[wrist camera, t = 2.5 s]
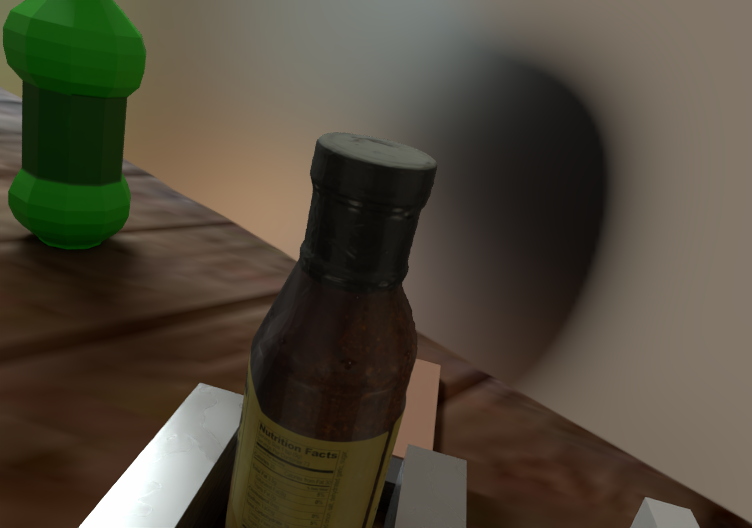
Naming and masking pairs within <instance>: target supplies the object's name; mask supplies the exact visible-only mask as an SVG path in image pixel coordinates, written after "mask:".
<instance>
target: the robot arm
mask: <svg viewBox="0 0 752 528" xmlns="http://www.w3.org/2000/svg"><path fill="white" fill-rule="evenodd" d="M630 528H699V526H698V524H697V522H696V520H695V518H694V516H693V514H692V512H691V510H689V509H686V508H682V507H678V506H675V505H671V504H668V503H664V502H661V501H657V500H654V499H650V498H646V497H645V499H644V501H643V503H642V505H641V507H640V509H639V511H638V513H637V515H636V517H635V519H634V521H633V523H632V525H631V527H630Z"/></svg>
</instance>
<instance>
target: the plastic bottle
mask: <svg viewBox="0 0 752 528" xmlns="http://www.w3.org/2000/svg"><path fill="white" fill-rule="evenodd" d="M3 46H4V51H5V55H6V59H7V63H8V65H9V66H10V67H11V68H12V69H13V70H14V71H15V72H16V74H17V75H18V76H19V77H20V78H21V79H22V80H23V95H22V168H21V170H20V171H19V173H18V174H17V175H16V177H15V178H14V181H13V183H12V185H11V187H10V189H9V191H8V205H9V207H10V209H11V211H12V213H13V215H14V217H15V218H16V219H17V220H18V221H19V222H20V223H21V224H22V225H23V226H24V227H26V228H27V229H28V230H30V231H31V232H32V233H33V234H35V235H36V236H38V237H39V240H41V241H42V242H44V243H45V244H47V245H48V246H53V247H58V248H63V249H89V248H91V247H94V246H97V245H100V244H101V241H104V240H106V239H108V238H109V237H111V236H112V235H114V234H116V233H117V232H118V231H119V230H120V229H121V228H123V226H124V224H125V222H126V220H127V218H128V216H129V209H130V199H131V193H130V190H129V187H128V184H127V181H126V179H125V177H124V175H123V173H122V162H123V148H124V134H125V120H126V106H127V97H128V96H129V95H131V94H132V93H133V92H134V91H135V90H137V89H138V88H139V87H140V84H141V80H142V77H143V74H144V69H145V60H146V49H145V46H144V42H143V38H142V35H141V34H140V32H139V31H138V30H137V29H136V27H135V26H134V25H133V24H132V23H131V21H130V20H129V18H128V17H127V16H126V15H125V13H124V12H123V11H122V10H121V9H120V8H119V6H118V5H117V4H116V3H115V2H114V1H113V0H25V1H24V2H22V3H21V4H19V5H18V6H16V7H15V8H13V9H12V10H11V11H10V13H9V15H8V17H7V20H6V22H5V24H4V27H3Z"/></svg>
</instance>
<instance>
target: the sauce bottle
mask: <svg viewBox="0 0 752 528" xmlns="http://www.w3.org/2000/svg"><path fill="white" fill-rule="evenodd" d="M436 170H437V164H436V161H435V160H434V159H432V158H431V157H430V156H429V155H428V154H426V153H424V152H422V151H420V150H416V149H415V148H413V147H409V146H406V145H404V144H400V143H396V142H392V141H390V140H386V139H380V138H375V137H370V136H364V135H356V134H350V133H338V132H335V133H327V134H324V135H322V136H321V137H320V138H319V139H318V140H317V142H316V147H315V152H314V157H313V160H312V166H311V170H310V176H311V180H312V184H313V194H312V200H311V206H310V211H309V218H308V223H307V229H306V234H305V240H304V241H303V243H302V245H301V247H300V258H299V260H298V262H297V263H296V265H295V267H294V268H293V270H292V272H291V274H290V275H289V277H288V279H287V280H286V282H285V284H284V286H283V287H282V289H281V291H280V292H279V294H278V296H277V298H276V299H275V301H274V303H273V305H272V306H271V308H270V310H269V311H268V313H267V315H266V317H265V318H264V320H263V322H262V324H261V325H260V327H259V329H258V331H257V333H256V334H255V336H254V339H253V342H252V346H251V351H250V359H249V366H248V371H247V379H246V384H245V393H244V399H243V405H242V411H241V418H240V423H239V432H238V439H237V447H236V455H235V462H234V466H233V474H232V480H231V487H230V495H229V501H228V508H227V515H226V522H225V528H372V526H373V522H374V519H375V515H376V512H377V508H378V504H379V501H380V497H381V493H382V490H383V486H384V482H385V479H386V475H387V471H388V468H389V464H390V461H391V457H392V453H393V450H394V446H395V443H396V439H397V436H398V432H399V429H400V425H401V421H402V418H403V414H404V410H405V406H406V392H407V388H408V385H409V382H410V377H411V373H412V371H413V367H414V364H415V361H416V355H417V333H416V330H415V323H414V321H413V317H412V309H411V307H410V305H409V301H408V299H407V297H406V295H405V293H404V290H403V287H402V281H403V280H404V278H405V277H406V275H407V272H408V268H409V266H408V258H409V254H410V249H411V246H412V242H413V237H414V235H415V231H416V228H417V224H418V219H419V215H420V212H421V209H422V208H423V207H424V206H425V205H426V203H427V200H428V198H429V197H430V194H431V189H432V187H433V184H434V178H435V174H436Z"/></svg>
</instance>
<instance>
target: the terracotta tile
mask: <svg viewBox="0 0 752 528" xmlns="http://www.w3.org/2000/svg"><path fill="white" fill-rule="evenodd" d="M440 366H441V365H437V364H434V363H430V362H426V361H423V360H419V359H416V361H415V364H414V367H413V371H412V373H411V377H410V382H409V385H408V388H407V392H406V406H405V410H404V414H403V418H402V421H401V425H400V429H399V432H398V436H397V439H396V443H395V446H394V450H393V453H392V457H394V458H397V459H401V460H403V459H404V455H405V452H406V449H407V445H408V444H411V445H414V446H418V447H421V448H424V449H428V450H431V451H432V450H433V440H434V429H435V419H436V408H437V398H438V387H439V376H440Z"/></svg>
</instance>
